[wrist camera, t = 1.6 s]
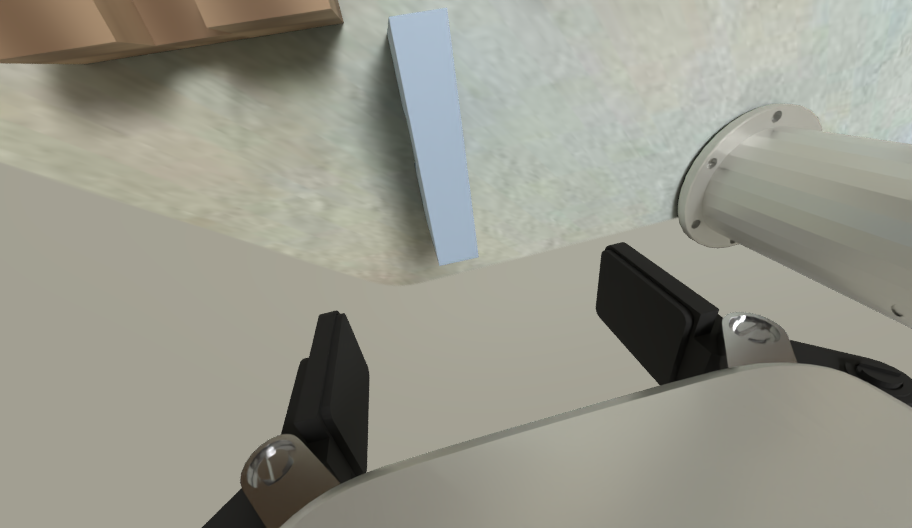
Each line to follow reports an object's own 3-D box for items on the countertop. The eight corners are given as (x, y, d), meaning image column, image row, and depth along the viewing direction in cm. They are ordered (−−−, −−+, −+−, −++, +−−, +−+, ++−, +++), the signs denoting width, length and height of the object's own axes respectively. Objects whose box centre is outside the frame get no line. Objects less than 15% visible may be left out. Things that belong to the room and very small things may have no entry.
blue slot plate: (387, 33, 20) (388, 16, 13) (426, 26, 20) (446, 7, 13) (425, 217, 26) (439, 266, 20) (455, 211, 26) (478, 257, 20)
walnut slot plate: (331, -23, 18) (313, -54, 13) (343, 23, 19) (330, 8, 14) (55, 18, 17) (-71, -1, 12) (84, 64, 18) (-22, 63, 13)
